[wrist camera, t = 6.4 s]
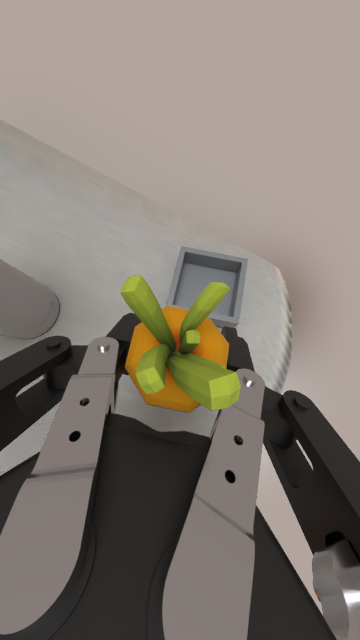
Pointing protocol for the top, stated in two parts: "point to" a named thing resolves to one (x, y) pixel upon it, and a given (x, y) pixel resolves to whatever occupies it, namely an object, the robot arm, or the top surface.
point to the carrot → (179, 351)
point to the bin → (199, 273)
